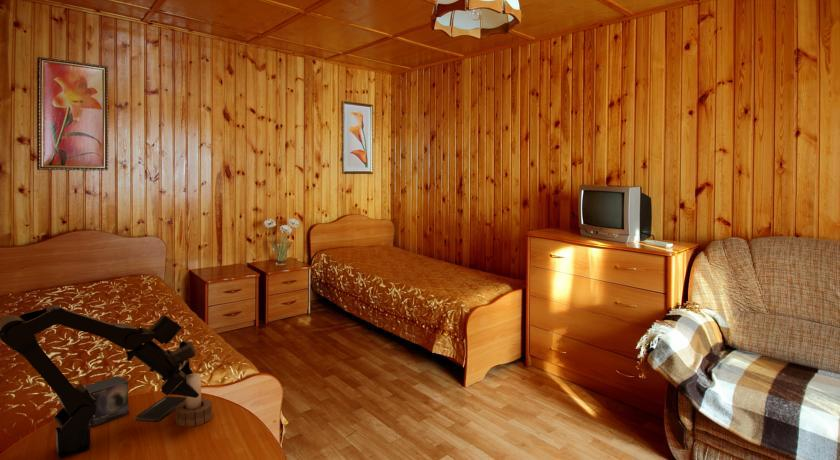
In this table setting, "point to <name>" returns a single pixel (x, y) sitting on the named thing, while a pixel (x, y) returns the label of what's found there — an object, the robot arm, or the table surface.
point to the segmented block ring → (193, 414)
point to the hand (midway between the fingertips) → (198, 389)
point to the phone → (160, 409)
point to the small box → (109, 399)
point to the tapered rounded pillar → (196, 384)
